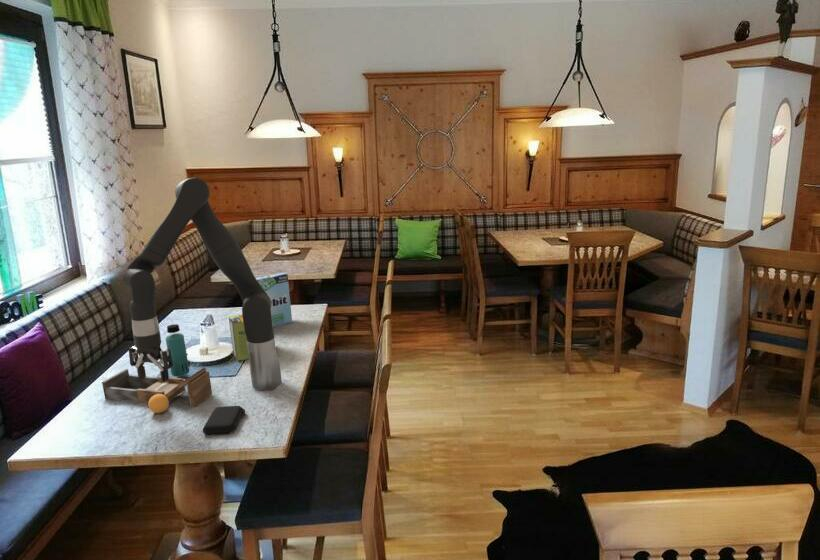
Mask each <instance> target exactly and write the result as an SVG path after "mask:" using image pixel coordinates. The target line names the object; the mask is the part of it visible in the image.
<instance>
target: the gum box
mask: <svg viewBox="0 0 820 560" xmlns="http://www.w3.org/2000/svg"><path fill="white" fill-rule="evenodd" d="M255 278H256V280H257V281H258V282H259V284H260V285H261V287H262V288H263V289H264V291H265V292H266V293H267V295H268V296H269V298H270V300H271V316H272V320H273V328H274V327H277V326H282V325H286V324H290V323H291V324H292V323H293V315H292V307H291V306H292V305H291V298H290V285H289V275H288V273H286V272H280V273H274V274H270V275H264V276H260V277H255Z"/></svg>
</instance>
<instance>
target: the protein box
mask: <svg viewBox="0 0 820 560" xmlns="http://www.w3.org/2000/svg"><path fill="white" fill-rule="evenodd" d="M271 317H272V316H271ZM228 323H229V329H230V338H231V339H230V340H231V346H232V347H231V348H232V353H233V352H234V353H233V355H234V357H235V359H236V361H237V362H240V361H239V360H241V361H245V360H249V355H248V347H247V339H246V334H245V330H244V323H243V316H242V314H236V315H232V316H228ZM272 326H273V320H272ZM273 330H274V328H273ZM274 331H275V330H274ZM275 348H277V347H276V346H275Z"/></svg>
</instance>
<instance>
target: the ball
mask: <svg viewBox="0 0 820 560" xmlns="http://www.w3.org/2000/svg"><path fill="white" fill-rule="evenodd" d="M169 403H170V401H168V398H167V397H166V396H165V395H163V394H156V395H154V396H152V397H151V398H150V400H149V403H147V404H148V409H149V410H150V411H151V412H153V413H155V414H161V413H163V412H165V411H166V410H167V409H168V407H169V405H170V404H169Z"/></svg>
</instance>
